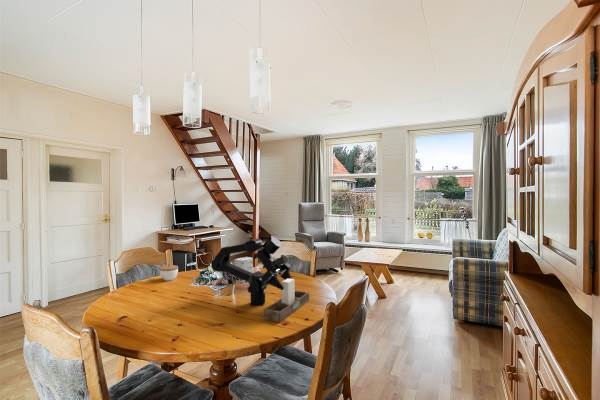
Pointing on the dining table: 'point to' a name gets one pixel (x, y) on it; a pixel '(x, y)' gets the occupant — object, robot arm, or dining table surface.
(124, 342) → the dining table surface
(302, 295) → the tray
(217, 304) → the dining table surface
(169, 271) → the white round bowl
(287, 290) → the white rectangular block
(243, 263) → the light bulb box
